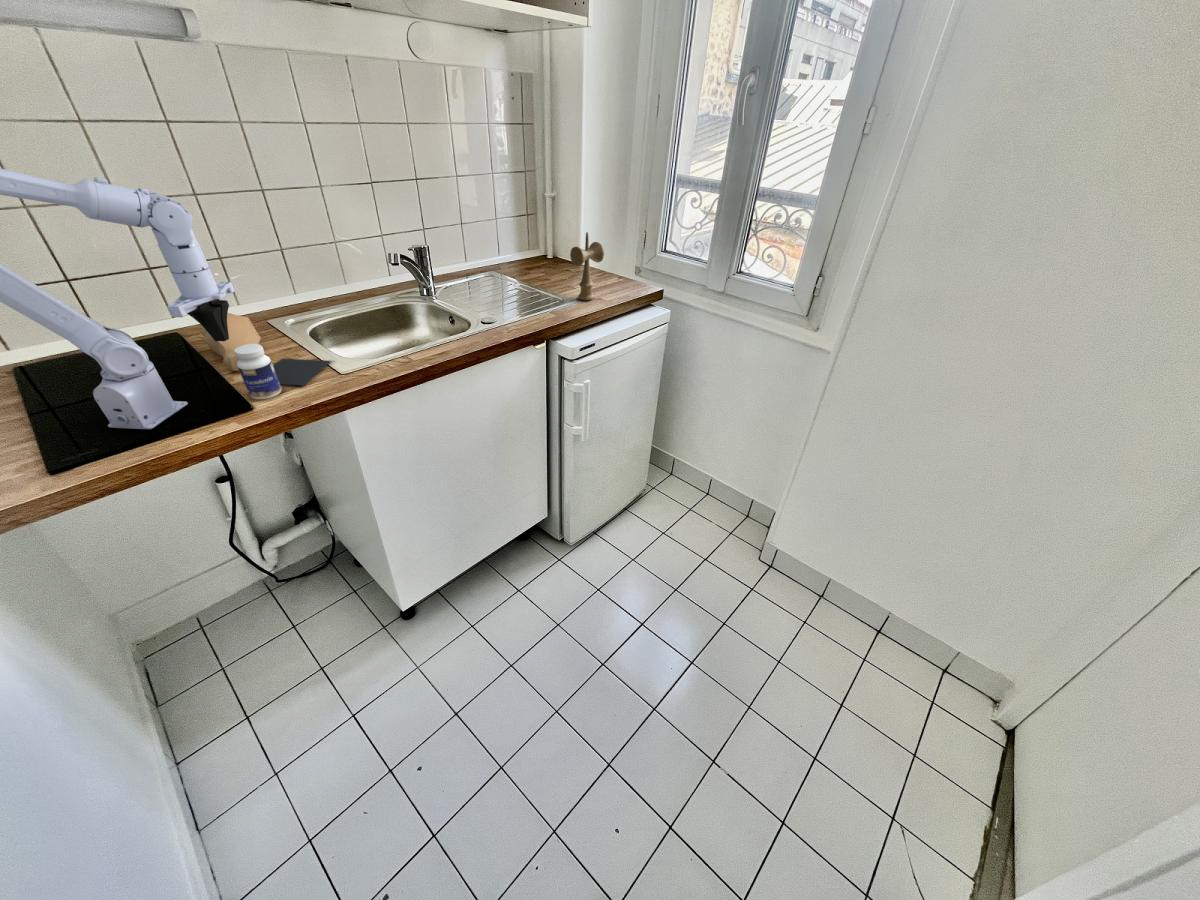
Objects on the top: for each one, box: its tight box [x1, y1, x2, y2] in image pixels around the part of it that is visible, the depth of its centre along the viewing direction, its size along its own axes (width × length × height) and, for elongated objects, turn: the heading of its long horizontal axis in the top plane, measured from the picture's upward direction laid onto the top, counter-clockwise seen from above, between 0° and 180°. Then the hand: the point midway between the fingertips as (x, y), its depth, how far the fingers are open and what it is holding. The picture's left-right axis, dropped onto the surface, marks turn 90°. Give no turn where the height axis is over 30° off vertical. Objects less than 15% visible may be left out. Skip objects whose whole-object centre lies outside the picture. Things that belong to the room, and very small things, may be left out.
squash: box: [201, 312, 262, 372], centre depth 111 cm, size 11×20×9 cm, turn 39°
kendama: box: [570, 231, 605, 301], centre depth 149 cm, size 6×10×20 cm, turn 135°
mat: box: [273, 358, 331, 388], centre depth 107 cm, size 12×11×1 cm
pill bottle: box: [234, 343, 282, 400], centre depth 97 cm, size 6×6×10 cm
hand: (222, 339), depth 96 cm, fingers closed
